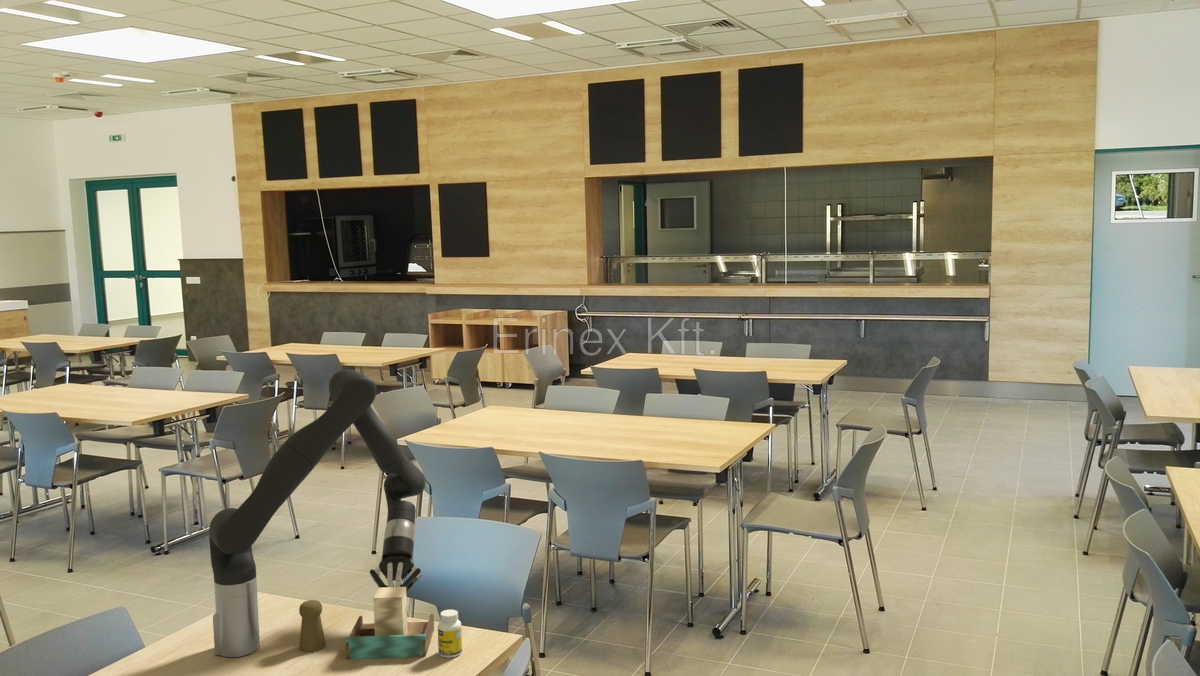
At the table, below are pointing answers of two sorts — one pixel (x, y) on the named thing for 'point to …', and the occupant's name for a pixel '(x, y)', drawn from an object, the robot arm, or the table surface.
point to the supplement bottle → (449, 634)
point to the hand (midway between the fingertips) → (392, 607)
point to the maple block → (390, 611)
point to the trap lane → (389, 641)
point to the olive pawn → (311, 627)
